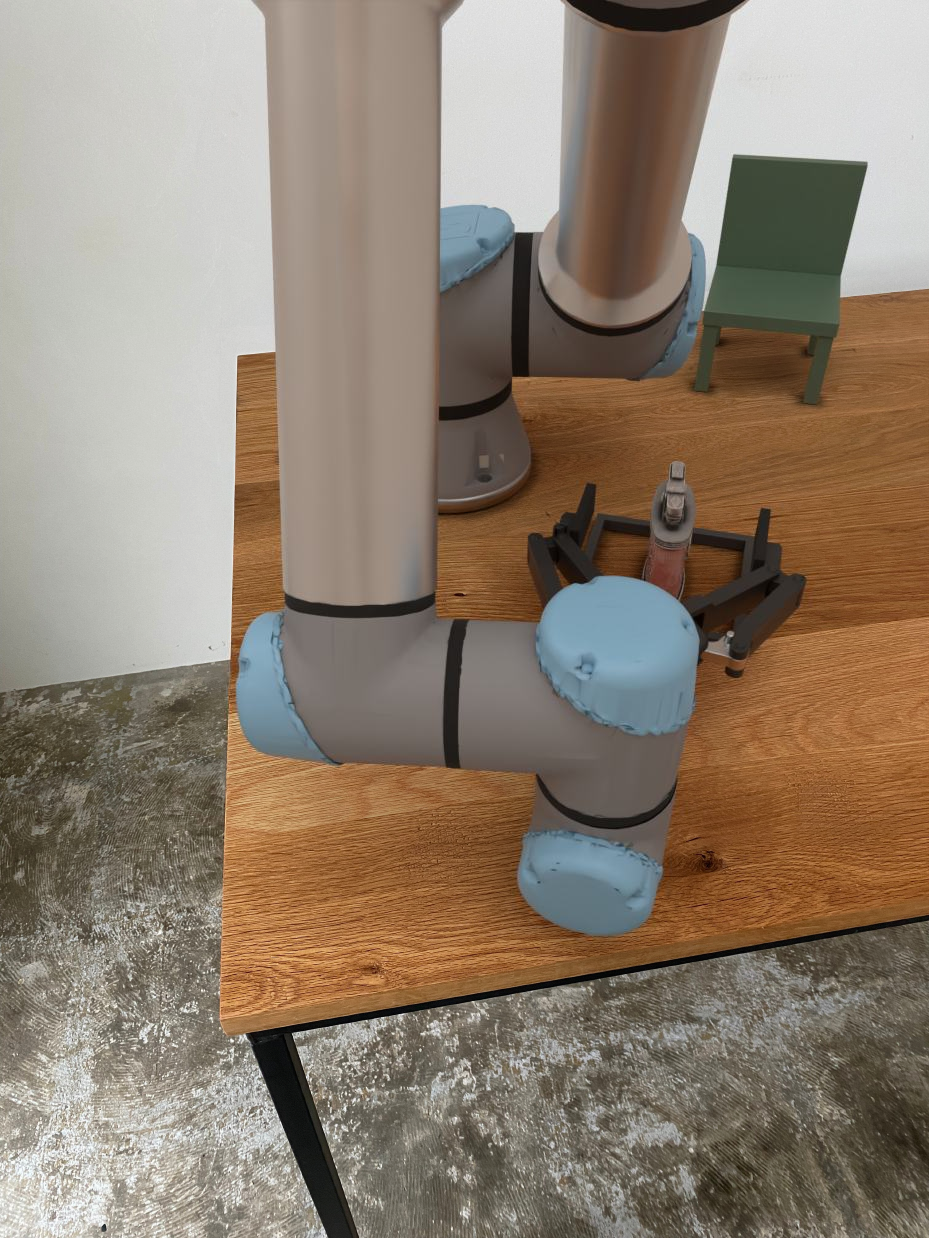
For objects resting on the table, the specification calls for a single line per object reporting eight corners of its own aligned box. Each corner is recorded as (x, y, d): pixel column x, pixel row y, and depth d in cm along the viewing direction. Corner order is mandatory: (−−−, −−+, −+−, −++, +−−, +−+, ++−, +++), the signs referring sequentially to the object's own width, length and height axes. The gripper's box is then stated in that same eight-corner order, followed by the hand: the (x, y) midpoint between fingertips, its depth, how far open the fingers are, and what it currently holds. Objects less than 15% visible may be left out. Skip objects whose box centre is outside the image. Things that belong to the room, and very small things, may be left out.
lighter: (681, 618, 74) (699, 515, 67) (638, 613, 74) (651, 511, 68) (684, 555, 80) (701, 455, 73) (644, 551, 80) (657, 451, 73)
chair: (692, 391, 100) (720, 196, 87) (705, 337, 109) (733, 154, 96) (818, 406, 97) (869, 206, 83) (822, 349, 106) (867, 161, 93)
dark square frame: (563, 623, 74) (564, 612, 73) (596, 523, 83) (597, 512, 83) (740, 655, 71) (742, 643, 70) (753, 547, 80) (756, 536, 79)
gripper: (446, 700, 65) (522, 523, 80) (820, 777, 59) (827, 571, 74) (441, 621, 60) (523, 448, 75) (849, 697, 54) (851, 493, 69)
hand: (675, 509), depth 75 cm, fingers open, 13 cm apart
